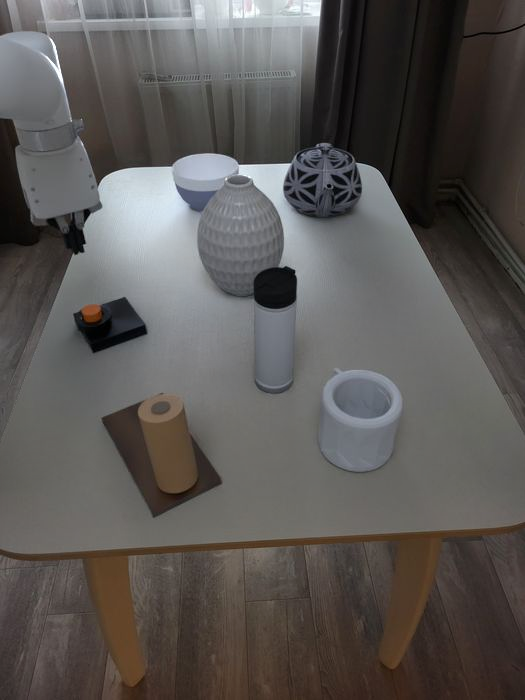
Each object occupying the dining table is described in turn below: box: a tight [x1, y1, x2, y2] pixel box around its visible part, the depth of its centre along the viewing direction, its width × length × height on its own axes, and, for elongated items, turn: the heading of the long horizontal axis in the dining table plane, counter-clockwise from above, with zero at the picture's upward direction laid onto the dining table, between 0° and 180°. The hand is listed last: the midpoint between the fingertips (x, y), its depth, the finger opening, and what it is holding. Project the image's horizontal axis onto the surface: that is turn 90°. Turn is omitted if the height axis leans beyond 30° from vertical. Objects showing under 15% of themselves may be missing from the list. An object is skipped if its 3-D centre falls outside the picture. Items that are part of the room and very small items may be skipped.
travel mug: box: [252, 265, 298, 394], centre depth 84 cm, size 6×7×20 cm
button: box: [81, 303, 102, 322], centre depth 97 cm, size 3×3×2 cm
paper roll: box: [138, 393, 198, 493], centre depth 71 cm, size 6×12×6 cm
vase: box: [196, 174, 285, 297], centre depth 104 cm, size 16×16×22 cm
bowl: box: [171, 153, 240, 213], centre depth 135 cm, size 16×16×10 cm
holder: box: [101, 392, 222, 519], centre depth 79 cm, size 10×19×1 cm, turn 32°
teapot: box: [282, 142, 363, 218], centre depth 132 cm, size 19×31×15 cm, turn 179°
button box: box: [72, 296, 148, 354], centre depth 100 cm, size 11×10×4 cm
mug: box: [317, 367, 404, 473], centre depth 78 cm, size 14×11×10 cm
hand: (77, 249), depth 89 cm, fingers closed
